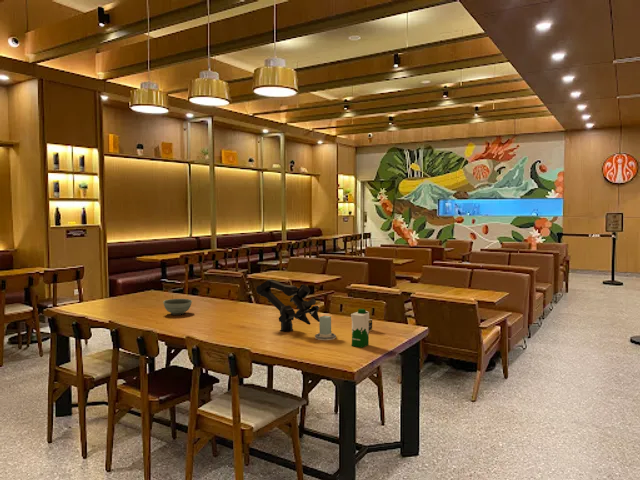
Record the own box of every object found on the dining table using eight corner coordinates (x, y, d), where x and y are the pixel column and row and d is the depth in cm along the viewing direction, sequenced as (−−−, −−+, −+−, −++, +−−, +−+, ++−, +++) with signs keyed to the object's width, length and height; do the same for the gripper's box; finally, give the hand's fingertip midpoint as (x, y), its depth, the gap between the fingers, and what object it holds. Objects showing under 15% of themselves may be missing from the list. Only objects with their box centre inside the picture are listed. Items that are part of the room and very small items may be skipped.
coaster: (311, 338, 287) (311, 336, 287) (320, 334, 298) (320, 331, 298) (330, 341, 282) (330, 338, 282) (339, 336, 293) (339, 333, 293)
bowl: (169, 311, 374) (168, 298, 373) (196, 311, 373) (195, 298, 373) (159, 317, 353) (158, 303, 353) (187, 316, 352) (187, 303, 352)
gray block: (319, 337, 290) (319, 317, 289) (324, 335, 294) (324, 315, 293) (326, 338, 287) (326, 318, 286) (331, 336, 291) (331, 316, 290)
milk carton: (370, 344, 273) (370, 309, 272) (363, 348, 266) (362, 312, 265) (357, 342, 278) (356, 307, 277) (349, 346, 271) (348, 310, 270)
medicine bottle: (363, 332, 302) (363, 313, 301) (356, 330, 308) (356, 311, 307) (372, 330, 306) (372, 311, 306) (364, 328, 312) (364, 309, 311)
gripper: (297, 296, 289) (312, 317, 283) (316, 292, 304) (331, 312, 298) (287, 308, 294) (302, 329, 288) (306, 303, 309) (321, 323, 303)
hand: (314, 322), depth 294 cm, fingers open, 9 cm apart
